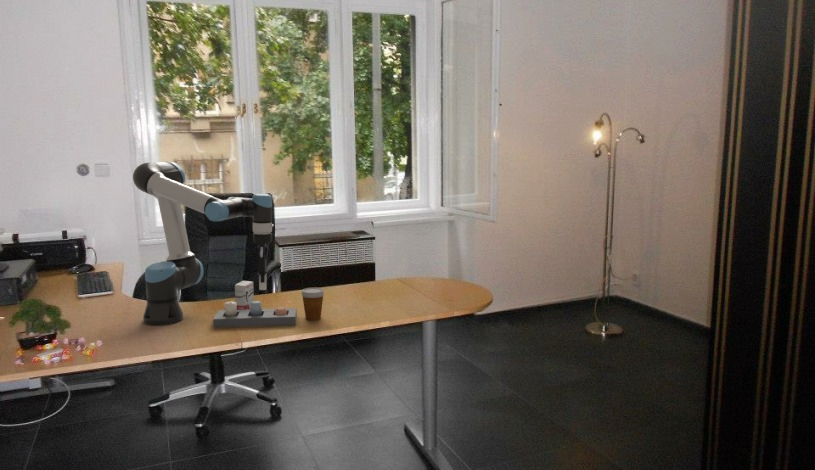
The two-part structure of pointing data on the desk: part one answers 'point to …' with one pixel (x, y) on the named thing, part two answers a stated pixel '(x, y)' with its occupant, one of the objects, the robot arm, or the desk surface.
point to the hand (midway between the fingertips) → (262, 289)
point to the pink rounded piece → (281, 311)
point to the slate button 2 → (256, 308)
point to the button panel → (255, 318)
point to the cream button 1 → (230, 309)
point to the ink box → (244, 295)
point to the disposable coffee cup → (312, 302)
